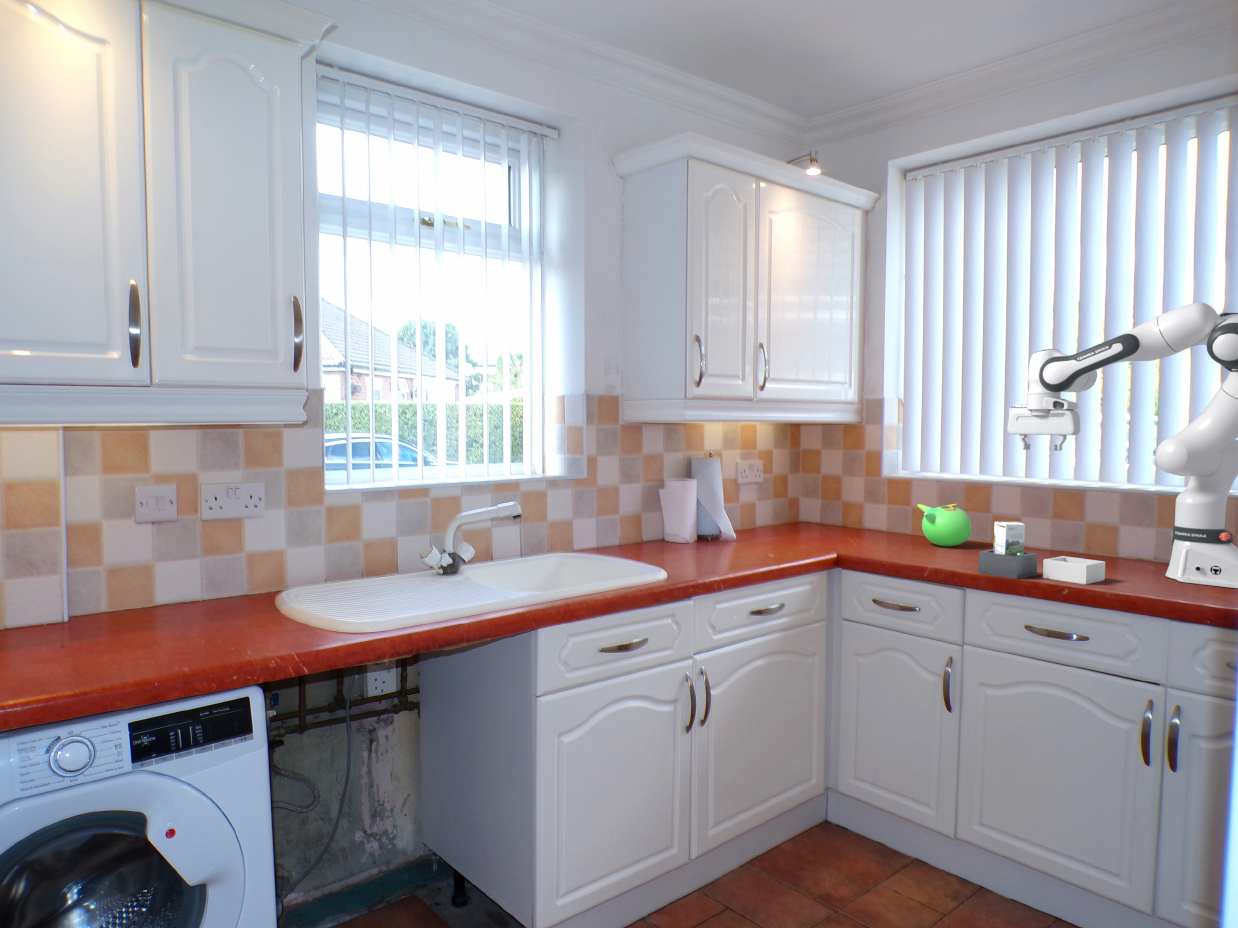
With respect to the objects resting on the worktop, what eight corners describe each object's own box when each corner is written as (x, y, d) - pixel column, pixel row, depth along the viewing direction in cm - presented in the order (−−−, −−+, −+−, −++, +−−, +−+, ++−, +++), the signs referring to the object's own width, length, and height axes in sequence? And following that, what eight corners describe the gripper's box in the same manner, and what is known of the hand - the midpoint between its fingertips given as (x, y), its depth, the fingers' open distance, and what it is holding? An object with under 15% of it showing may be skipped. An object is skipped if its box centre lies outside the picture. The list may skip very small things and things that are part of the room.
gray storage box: (1037, 574, 224) (1038, 551, 223) (1017, 578, 217) (1017, 554, 217) (998, 569, 232) (999, 546, 232) (978, 572, 226) (978, 549, 226)
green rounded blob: (977, 550, 268) (978, 506, 268) (924, 548, 271) (925, 505, 270) (963, 543, 286) (964, 501, 285) (913, 541, 289) (914, 500, 288)
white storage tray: (1104, 580, 217) (1105, 561, 217) (1085, 584, 211) (1086, 565, 210) (1062, 573, 226) (1063, 556, 226) (1042, 577, 219) (1043, 559, 219)
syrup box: (1011, 571, 228) (1012, 520, 227) (1023, 575, 222) (1025, 523, 222) (992, 572, 227) (993, 520, 227) (1004, 575, 222) (1005, 523, 221)
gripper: (1004, 404, 249) (1002, 449, 250) (1073, 403, 233) (1071, 451, 233) (1014, 405, 253) (1013, 449, 253) (1083, 403, 236) (1082, 451, 237)
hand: (1041, 450), depth 243 cm, fingers open, 8 cm apart
